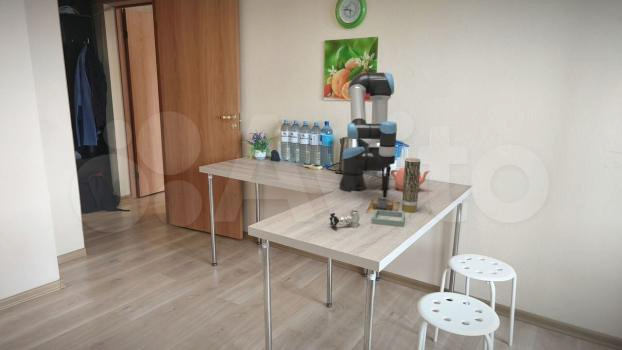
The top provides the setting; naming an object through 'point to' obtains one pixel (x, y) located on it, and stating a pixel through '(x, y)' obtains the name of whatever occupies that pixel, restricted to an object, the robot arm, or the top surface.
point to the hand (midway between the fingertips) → (384, 203)
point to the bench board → (370, 210)
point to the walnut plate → (389, 205)
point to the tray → (387, 221)
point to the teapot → (400, 178)
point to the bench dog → (382, 204)
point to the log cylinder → (411, 185)
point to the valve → (346, 219)
